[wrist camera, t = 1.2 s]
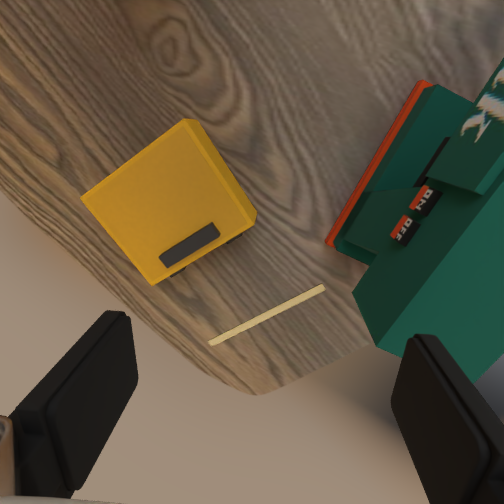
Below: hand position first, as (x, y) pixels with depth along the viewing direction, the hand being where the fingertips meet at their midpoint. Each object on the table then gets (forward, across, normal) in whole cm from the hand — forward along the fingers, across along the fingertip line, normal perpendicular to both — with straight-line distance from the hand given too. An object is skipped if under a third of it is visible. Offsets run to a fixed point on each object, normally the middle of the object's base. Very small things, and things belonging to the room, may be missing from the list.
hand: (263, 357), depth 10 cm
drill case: (+27, +11, +1) cm, 29 cm away
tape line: (+27, 0, +16) cm, 31 cm away
